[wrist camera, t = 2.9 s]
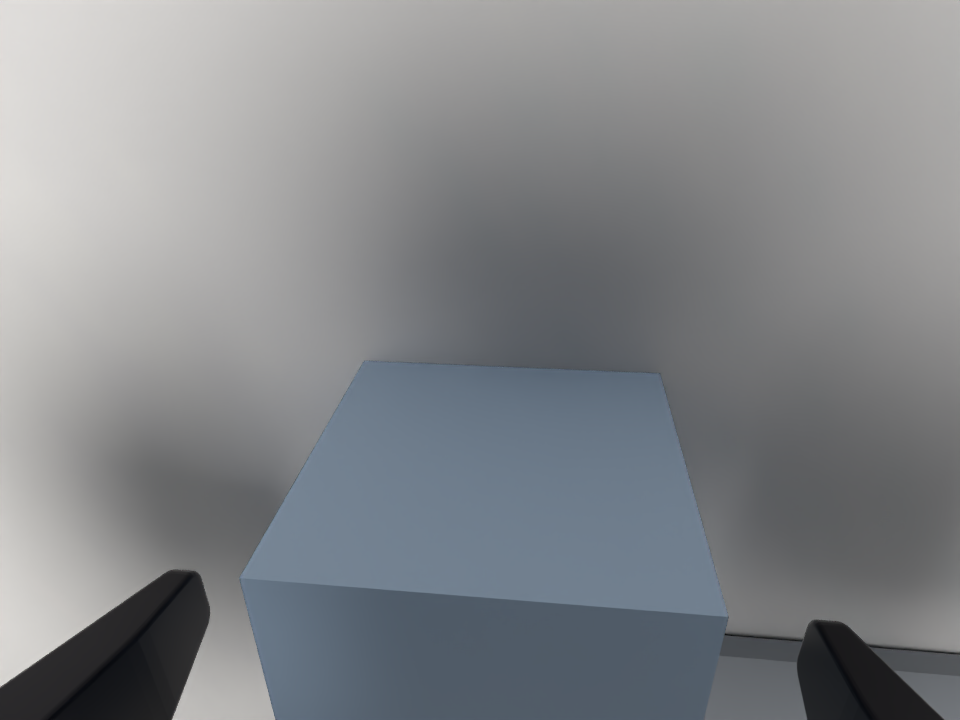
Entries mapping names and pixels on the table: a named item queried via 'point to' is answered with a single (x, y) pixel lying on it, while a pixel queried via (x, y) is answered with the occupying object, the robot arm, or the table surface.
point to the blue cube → (489, 554)
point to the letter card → (776, 690)
